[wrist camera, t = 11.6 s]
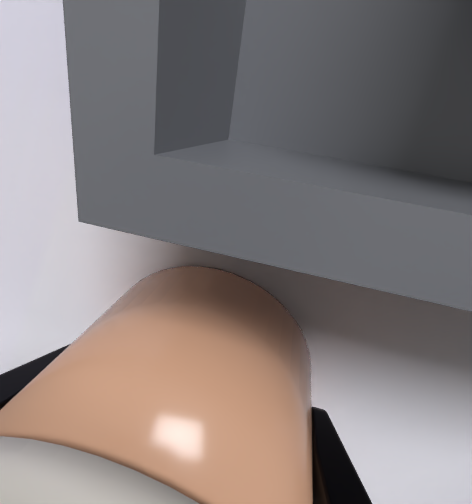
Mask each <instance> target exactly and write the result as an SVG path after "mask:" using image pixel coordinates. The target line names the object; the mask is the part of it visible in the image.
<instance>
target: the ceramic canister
mask: <svg viewBox="0 0 472 504" xmlns="http://www.w3.org/2000/svg"><path fill="white" fill-rule="evenodd" d="M0 504H313V488H312V408H311V361H310V353H309V349H308V346H307V342H306V340H305V338H304V335H303V333H302V331H301V329H300V327H299V326H298V324H297V323H296V321H295V320H294V318H293V317H292V316H291V314H290V313H289V312H288V311H287V310H286V308H285V307H284V306H283V305H282V304H281V303H280V302H278V301H277V300H276V299H275V298H274V297H273V296H272V295H270V294H269V293H268V292H266V291H265V290H264V289H262V288H261V287H259V286H257V285H255V284H254V283H252V282H250V281H248V280H246V279H244V278H242V277H239V276H237V275H235V274H232V273H229V272H225V271H222V270H218V269H213V268H207V267H195V266H186V267H174V268H170V269H165V270H161V271H159V272H156V273H153V274H151V275H149V276H147V277H145V278H144V279H142V280H140V281H139V282H138V283H137V284H135V285H134V286H133V287H132V288H131V289H130V290H128V291H127V292H126V293H125V294H124V295H123V296H122V297H121V298H120V299H119V300H118V301H117V302H116V303H115V304H113V305H112V306H111V307H110V308H109V309H108V310H107V311H106V312H105V313H104V314H103V315H102V316H101V317H99V318H98V319H97V320H96V321H95V322H94V323H93V324H92V325H91V326H90V327H89V328H88V329H87V330H86V331H84V332H83V333H82V334H81V335H80V336H79V337H78V338H77V339H76V340H75V341H74V342H73V343H72V344H70V345H69V346H68V347H67V348H66V349H65V350H64V351H63V352H62V353H61V354H60V355H59V356H58V357H57V358H55V359H54V360H53V361H52V362H51V363H50V364H49V365H48V366H47V367H46V368H45V369H44V370H43V371H41V372H40V373H39V374H38V375H37V376H36V377H35V378H34V379H33V380H32V381H31V382H30V383H29V384H28V385H26V386H25V387H24V388H23V389H22V390H21V391H20V392H19V393H18V394H17V395H16V396H15V397H14V398H12V399H11V400H10V401H9V402H8V403H7V404H6V405H5V406H4V407H3V408H2V409H1V410H0Z"/></svg>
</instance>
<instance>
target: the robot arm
mask: <svg viewBox="0 0 472 504" xmlns="http://www.w3.org/2000/svg"><path fill="white" fill-rule="evenodd" d="M69 345H70V344H69ZM69 345H67V346H65V347H63V348H60V349H58V350H56V351H53V352H51V353H49V354H47V355H44V356H42V357H40V358H38V359H35V360H33V361H31V362H28V363H26V364H24V365H22V366H19V367H17V368H15V369H13V370H10V371H8V372H6V373H3V374H1V375H0V410H1V409H2V408H3V407H4V406H5V405H6V404H7V403H8V402H9V401H10V400H11V399H12V398H14V397H15V396H16V395H17V394H18V393H19V392H20V391H21V390H22V389H23V388H24V387H25V386H26V385H28V384H29V383H30V382H31V381H32V380H33V379H34V378H35V377H36V376H37V375H38V374H39V373H40V372H41V371H43V370H44V369H45V368H46V367H47V366H48V365H49V364H50V363H51V362H52V361H53V360H54V359H55V358H57V357H58V356H59V355H60V354H61V353H62V352H63V351H64V350H65V349H66V348H67V347H68V346H69ZM311 408H312V488H313V504H372V502H371V500H370V498H369V496H368V494H367V492H366V490H365V488H364V486H363V484H362V482H361V480H360V478H359V476H358V474H357V472H356V470H355V468H354V466H353V464H352V462H351V460H350V458H349V456H348V454H347V452H346V450H345V448H344V446H343V444H342V442H341V440H340V438H339V436H338V434H337V432H336V430H335V428H334V426H333V424H332V422H331V420H330V418H329V416H328V414H327V412H326V411H325V410H323V409H319V408H316V407H311Z"/></svg>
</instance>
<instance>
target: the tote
mask: <svg viewBox="0 0 472 504" xmlns="http://www.w3.org/2000/svg"><path fill="white" fill-rule="evenodd" d="M63 9H64V23H65V37H66V51H67V65H68V79H69V93H70V108H71V122H72V136H73V150H74V164H75V178H76V192H77V206H78V220H79V222H83V223H87V224H92V225H96V226H101V227H105V228H109V229H114V230H118V231H122V232H127V233H131V234H135V235H140V236H144V237H148V238H153V239H157V240H162V241H166V242H170V243H175V244H179V245H183V246H188V247H192V248H196V249H201V250H205V251H209V252H214V253H218V254H223V255H227V256H231V257H236V258H240V259H244V260H249V261H253V262H257V263H262V264H266V265H270V266H275V267H279V268H284V269H288V270H292V271H297V272H301V273H305V274H310V275H314V276H318V277H323V278H327V279H332V280H336V281H340V282H345V283H349V284H353V285H358V286H362V287H366V288H371V289H375V290H379V291H384V292H388V293H393V294H397V295H401V296H406V297H410V298H414V299H419V300H423V301H427V302H432V303H436V304H440V305H445V306H449V307H454V308H458V309H462V310H467V311H471V312H472V0H63Z"/></svg>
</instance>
